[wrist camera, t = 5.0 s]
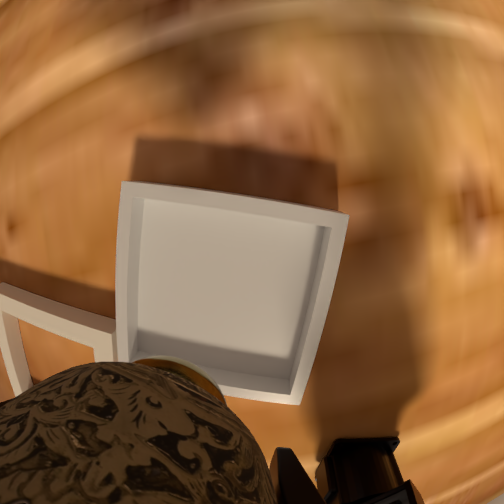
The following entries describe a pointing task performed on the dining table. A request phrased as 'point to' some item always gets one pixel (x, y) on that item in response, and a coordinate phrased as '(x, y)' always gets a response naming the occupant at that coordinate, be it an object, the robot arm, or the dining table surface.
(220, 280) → the grey tray
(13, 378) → the white flat square frame
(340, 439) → the robot arm
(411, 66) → the dining table surface
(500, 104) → the dining table surface
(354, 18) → the dining table surface
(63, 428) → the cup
